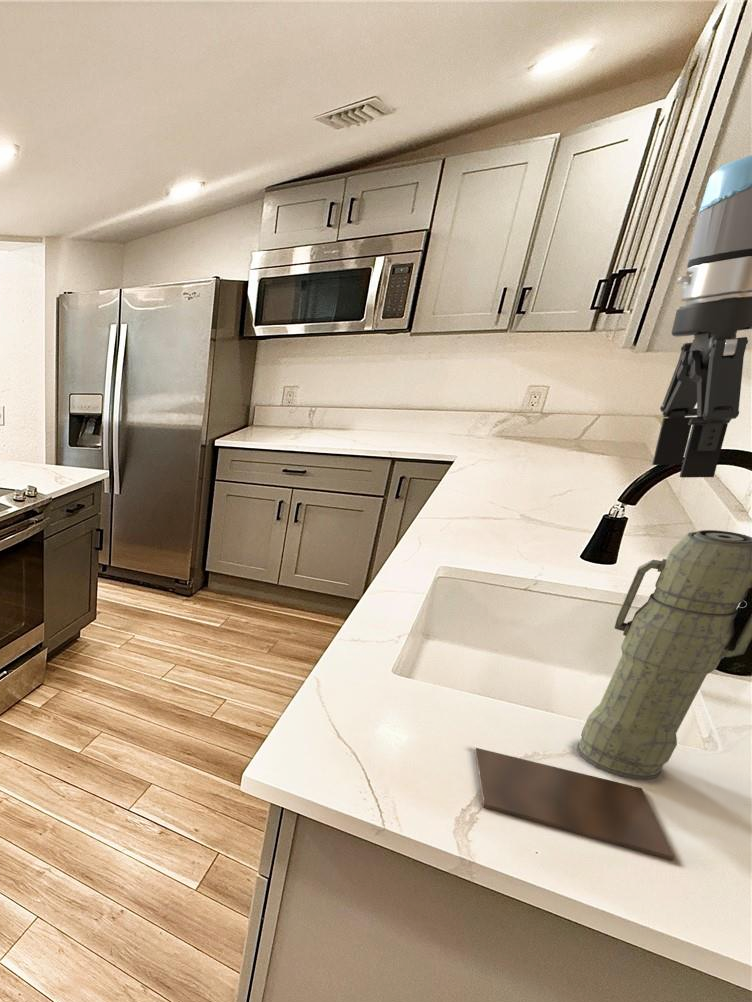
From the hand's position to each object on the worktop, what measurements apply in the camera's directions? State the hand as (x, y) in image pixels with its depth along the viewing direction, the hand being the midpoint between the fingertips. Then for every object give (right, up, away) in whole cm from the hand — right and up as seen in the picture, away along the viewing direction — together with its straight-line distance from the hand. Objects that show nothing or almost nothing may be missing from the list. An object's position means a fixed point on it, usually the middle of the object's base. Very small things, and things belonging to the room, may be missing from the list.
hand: (680, 470), depth 83 cm
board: (-14, -45, +2) cm, 47 cm away
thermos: (0, -42, +8) cm, 42 cm away
